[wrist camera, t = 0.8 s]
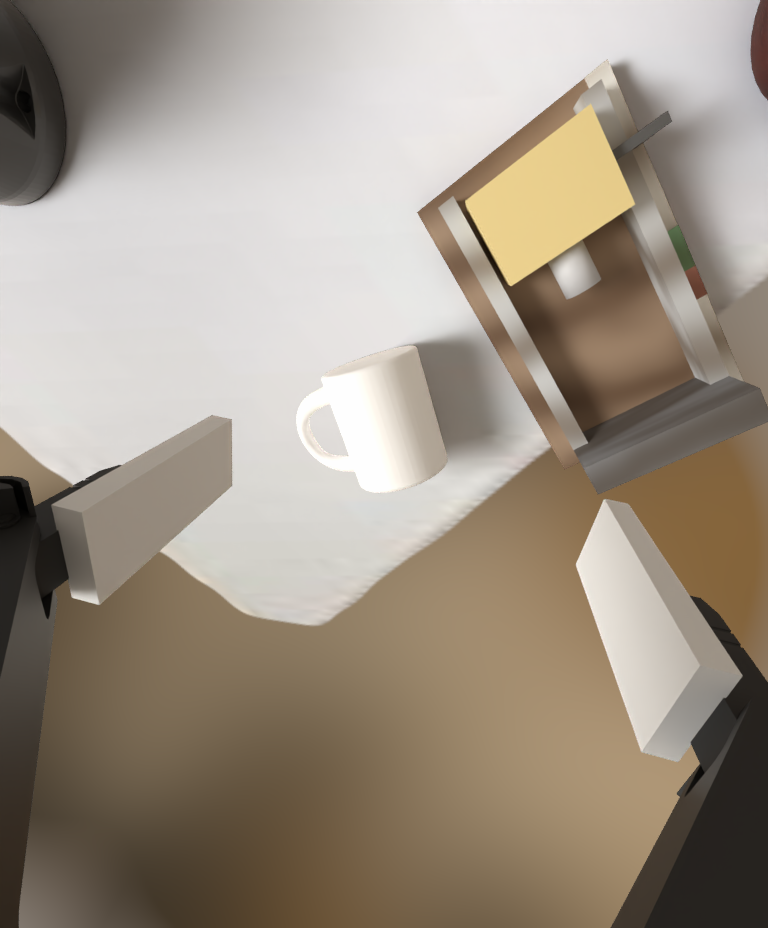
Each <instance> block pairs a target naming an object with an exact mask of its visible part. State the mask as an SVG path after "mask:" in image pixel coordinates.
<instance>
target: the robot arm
mask: <svg viewBox="0 0 768 928" xmlns="http://www.w3.org/2000/svg"><path fill="white" fill-rule="evenodd" d="M65 137H66V127H65V115H64V108H63V102H62V97H61V93H60V89H59V85H58V82H57V79H56V76H55V73H54V70H53V68H52V65H51V63H50V60H49V58H48V56H47V54H46V52H45V50H44V48H43V46H42V44H41V42H40V40H39V39H38V37H37V35H36V34H35V32H34V31H33V29H32V28H31V26H30V25H29V23H28V22H27V21H26V19H25V18H24V17H23V15H22V14H21V13H20V12H19V11H18V10H17V8H16V7H15V6H14V5H13V4H12V3H11V2H10V1H9V0H0V205H8V206H19V205H24V204H28V203H31V202H33V201H35V200H37V199H38V198H40V197H41V196H42V195H44V194H45V193H46V192H47V190H48V189H49V188H50V187H51V185H52V184H53V182H54V181H55V179H56V177H57V175H58V172H59V170H60V167H61V164H62V160H63V155H64V149H65ZM231 486H232V419H227V418H223V417H218V416H213V415H211V416H210V417H208V418H206V419H204V420H202V421H201V422H199V423H197V424H195V425H193V426H192V427H190V428H188V429H186V430H184V431H183V432H181V433H179V434H177V435H176V436H174V437H172V438H170V439H168V440H167V441H165V442H163V443H161V444H159V445H158V446H156V447H154V448H152V449H150V450H149V451H147V452H145V453H143V454H141V455H140V456H138V457H136V458H134V459H133V460H131V461H129V462H127V463H125V464H124V465H118V466H115V467H111V468H108V469H104V470H101V471H99V472H97V473H95V474H93V475H92V476H90V477H88V478H86V480H85V481H83V480H82V481H81V482H79V483H77V484H75V485H73V487H72V488H71V487H69V488H68V489H66V490H64V491H62V492H60V493H58V494H56V495H55V496H53V497H51V498H49V499H47V500H45V501H44V502H42V503H40V504H38V505H36V506H34V503H33V499H32V495H31V491H30V487H29V483H28V481H26V480H25V479H23V478H19V477H13V476H0V928H19V904H20V895H21V887H22V879H23V871H24V863H25V854H26V847H27V839H28V831H29V823H30V815H31V807H32V799H33V791H34V782H35V775H36V767H37V759H38V751H39V743H40V734H41V727H42V719H43V710H44V703H45V695H46V686H47V679H48V671H49V663H50V655H51V646H52V638H53V630H54V623H55V614H56V607H57V597H56V593H55V589H56V588H57V587H58V586H60V585H61V584H62V583H63V582H64V581H66V580H67V579H68V582H69V586H70V590H71V595H72V597H73V598H76V599H79V600H83V601H87V602H90V603H94V604H98V605H100V604H101V603H102V602H103V601H104V600H105V599H107V598H108V597H109V596H110V595H111V594H112V593H113V592H114V591H115V590H116V589H118V588H119V587H120V586H121V585H122V584H123V583H124V582H125V581H127V580H128V579H129V578H130V577H131V576H132V575H133V574H134V573H135V572H137V571H138V570H139V569H140V568H141V567H142V566H143V565H144V564H145V563H147V562H148V561H149V560H150V559H151V558H152V557H153V556H154V555H155V554H157V553H158V552H159V551H160V550H161V549H162V548H163V547H164V546H166V545H167V544H168V543H169V542H170V541H171V540H172V539H173V538H174V537H176V536H177V535H178V534H179V533H180V532H181V531H182V530H183V529H184V528H186V527H187V526H188V525H189V524H190V523H191V522H192V521H193V520H194V519H196V518H197V517H198V516H199V515H200V514H201V513H202V512H203V511H204V510H206V509H207V508H208V507H209V506H210V505H211V504H212V503H213V502H215V501H216V500H217V499H218V498H219V497H220V496H221V495H222V494H223V493H225V492H226V491H227V490H228V489H229V488H230V487H231ZM576 567H577V569H578V572H579V575H580V578H581V581H582V584H583V586H584V589H585V592H586V595H587V598H588V601H589V603H590V607H591V609H592V612H593V615H594V618H595V621H596V624H597V627H598V629H599V632H600V635H601V638H602V641H603V644H604V647H605V649H606V652H607V655H608V658H609V661H610V664H611V666H612V669H613V672H614V675H615V678H616V681H617V683H618V686H619V689H620V692H621V695H622V698H623V701H624V704H625V706H626V709H627V712H628V715H629V718H630V721H631V723H632V726H633V729H634V732H635V735H636V738H637V741H638V744H639V746H640V749H641V752H643V753H647V754H650V755H654V756H658V757H662V758H665V759H669V760H673V761H676V762H678V761H679V760H680V759H681V757H682V756H683V755H684V753H685V752H686V751H687V749H688V748H689V747H690V745H692V747H693V749H694V751H695V753H696V755H697V758H698V760H699V762H700V765H699V766H698V767H697V768H696V770H695V771H694V772H693V774H692V775H691V776H690V777H689V778H688V780H687V781H686V782H685V783H684V785H683V786H682V787H681V789H680V790H679V791H678V792H677V795H678V796H680V798H679V800H678V802H677V804H676V805H675V807H674V809H673V811H672V813H671V815H670V817H669V819H668V821H667V822H666V825H665V826H664V828H663V830H662V832H661V834H660V836H659V838H658V840H657V841H656V843H655V845H654V847H653V849H652V851H651V853H650V855H649V856H648V858H647V860H646V862H645V864H644V866H643V868H642V870H641V872H640V874H639V875H638V877H637V879H636V881H635V883H634V885H633V887H632V889H631V891H630V892H629V894H628V896H627V898H626V900H625V902H624V904H623V906H622V907H621V909H620V911H619V913H618V915H617V917H616V919H615V921H614V923H613V924H612V927H611V928H768V682H767V681H766V680H765V678H764V677H763V675H762V674H761V672H760V671H759V669H758V668H757V667H756V665H755V664H754V662H753V661H752V660H751V658H750V657H749V655H748V654H747V653H746V651H745V650H744V648H741V647H740V643H739V642H738V640H737V639H736V637H735V636H734V634H731V633H730V632H731V630H730V629H729V628H728V626H727V625H726V623H725V622H724V620H723V619H722V618H721V616H720V615H719V614H718V613H717V612H716V611H715V610H714V609H712V608H711V607H710V606H709V605H708V604H707V603H706V602H704V601H703V600H702V599H701V598H697V597H693V596H689V594H688V593H687V591H686V590H685V589H684V587H683V585H682V584H681V582H680V581H679V579H678V578H677V576H676V575H675V573H674V572H673V570H672V569H671V567H670V566H669V564H668V563H667V562H666V560H665V558H664V557H663V555H662V554H661V553H660V551H659V550H658V548H657V546H656V545H655V543H654V542H653V540H652V539H651V537H650V536H649V534H648V533H647V531H646V530H645V528H644V527H643V525H642V524H641V522H640V521H639V519H638V518H637V516H636V515H635V513H634V512H633V510H632V509H631V507H630V506H629V504H626V503H621V502H617V501H612V500H607V499H604V501H603V503H602V505H601V508H600V510H599V512H598V515H597V517H596V519H595V522H594V524H593V526H592V529H591V531H590V533H589V536H588V538H587V540H586V543H585V545H584V547H583V550H582V552H581V554H580V556H579V559H578V561H577V563H576Z"/></svg>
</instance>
